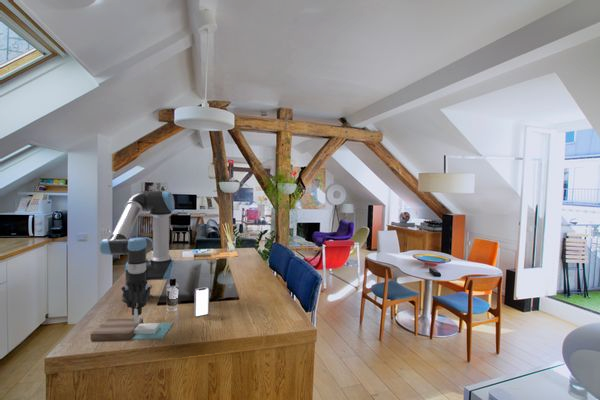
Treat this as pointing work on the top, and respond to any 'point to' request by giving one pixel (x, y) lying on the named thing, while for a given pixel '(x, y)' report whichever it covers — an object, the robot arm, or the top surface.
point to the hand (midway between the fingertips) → (136, 321)
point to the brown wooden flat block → (116, 329)
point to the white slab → (146, 328)
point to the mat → (158, 334)
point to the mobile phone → (201, 302)
